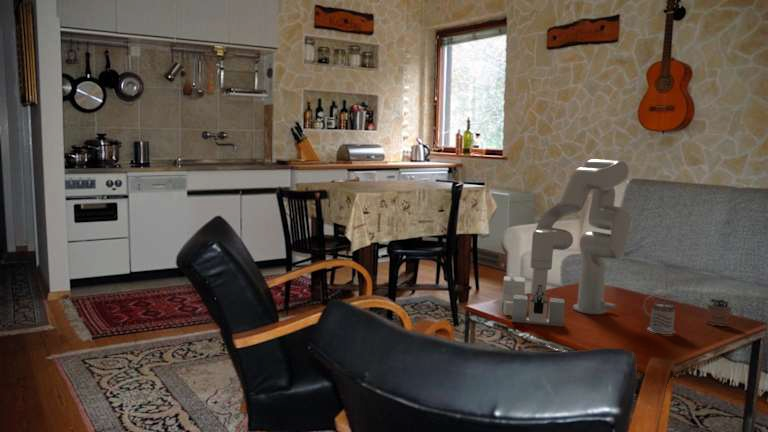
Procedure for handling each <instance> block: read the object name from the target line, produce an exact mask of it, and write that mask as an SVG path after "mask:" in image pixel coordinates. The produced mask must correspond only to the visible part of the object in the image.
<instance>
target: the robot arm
mask: <svg viewBox="0 0 768 432" xmlns="http://www.w3.org/2000/svg"><path fill="white" fill-rule="evenodd" d="M628 176H629V166H628V163H626V162H625V161H622V160H619V159H617V160H616V159H603V158H592V159H589V160H587V161H586V162H585V163H584V167H583V166H581V167H577V168H576V169H574V170H573V172H572V174H571V176H570V177H569V178H570V179H569V180H568V183H567V185H566V187H565V189H564V192H563V194H562V196H561V198H560V200H559V201H558V202H556V203H555V204H553V205H552V206H551V207H550V208H548V209H547V210H546V211H545V212H544V213H543V214H542V215H541V216H540V219H539V221H538V223H537V225H536V228H535V230H534V231H532V232H533V233H532V239H531V240H532V241H531V252H530V268H531V269H532V274H531V285H530V286H531V288H530V293H531V295H530V296H534V297H535V302H534V313H537V314H543V305H544V303H543V297H546V293H547V288H548V287H547V285H548V277H549V270H552V268H553V267H552V266H553V257H554V256H553V254H554V253H553V252H554V251H555V250H559V251H564V250H568V249H569V248H570V247H571V246H572V245H573V243H574V237H573V235H572V233H571V232H570V231H569V230H566V229H563V228H558V227H553V226H554V225H555V224H556V222H558V221H559V220H560V219H562V218H565V217H568V216H570V215H574V214H576V213H579V212H581V211H582V210H583V208H584V206H585V203H586V201H587V199H588V196H589V194H590V192H591V191H592V196H591V201H590V207H589V213H588V224H589V225H590V226H591V227H593V228H595V229H599V230H605V231H610V233H605V232H600V231H592V230H591V231H586V232H585V233H583V234H582V235H581V237H580V239H579V251H580V271H579V282H578V294H577V303H575V304H573V306H572V309H573V310H574V311H576V312H579V313H582V314H588V315H603V314H606V313H607V309H613V310H615V309H616V303H611V302H606V301H605V299H604V292H605V280H606V270H607V267H606V263H605V261H604V259H607V260H611V261H612V260H613V261H618V260H620V259H621V258H622V257H624V254H625V252H626V250H627V249H626V248H627V244H628V239H629V234H630V228H631V215H630V211H629V210H628V209H627V208H625V207H622V206H616V205H615V199H616V190H615V187H616V186H619V185H620V184H623V183H624V181H626V179H628Z"/></svg>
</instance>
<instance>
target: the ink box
mask: <svg viewBox="0 0 768 432" xmlns="http://www.w3.org/2000/svg"><path fill="white" fill-rule="evenodd" d="M525 286H526V277H520V276H515V275H514V274H513V273H512V272H510V275H509V276H507V275H505V276H504V277H503V285H502V305H501V309H502V310H503V308H504V300H513V297H514V295H524V296H525V291H526V290H525Z"/></svg>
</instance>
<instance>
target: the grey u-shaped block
mask: <svg viewBox="0 0 768 432" xmlns="http://www.w3.org/2000/svg"><path fill="white" fill-rule="evenodd" d="M528 298H529V297H528V295H525V294H524V295H514V297H513V312H512V316H511V322H513V323H520V324H521V323H523V324H532V325H541V326H542V325H543V326H552V327H560V328H561V327H563V326H564V319H565V318H564V315H565V299H564V298H557V297H556V298H555V297H549V301H548V303H549V304H548V312H547V313H548V314H547V315H548V317H547V318H546V323H542V322H532V321H529V317H528V316H527V314H528V313H527V312H528V311H527V310H528V302H529V301H528Z"/></svg>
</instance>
